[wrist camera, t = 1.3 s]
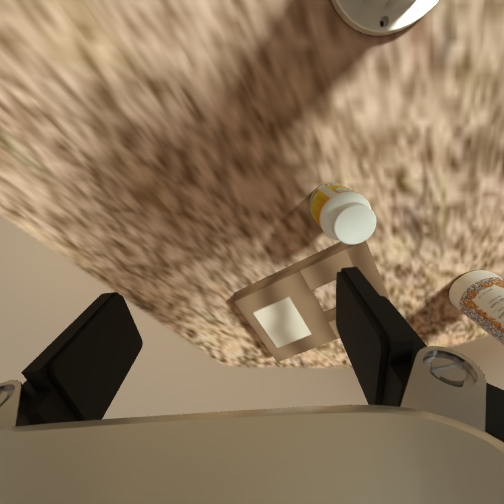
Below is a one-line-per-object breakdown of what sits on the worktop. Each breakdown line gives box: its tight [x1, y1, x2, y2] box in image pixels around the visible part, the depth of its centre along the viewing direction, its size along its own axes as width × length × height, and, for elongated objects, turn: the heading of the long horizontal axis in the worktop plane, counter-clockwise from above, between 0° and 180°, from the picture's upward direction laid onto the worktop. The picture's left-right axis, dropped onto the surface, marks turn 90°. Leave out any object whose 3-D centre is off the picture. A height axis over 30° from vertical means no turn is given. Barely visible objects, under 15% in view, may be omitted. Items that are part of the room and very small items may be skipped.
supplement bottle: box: [309, 183, 376, 244], centre depth 27 cm, size 5×5×10 cm
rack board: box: [234, 240, 390, 362], centre depth 37 cm, size 20×14×3 cm
